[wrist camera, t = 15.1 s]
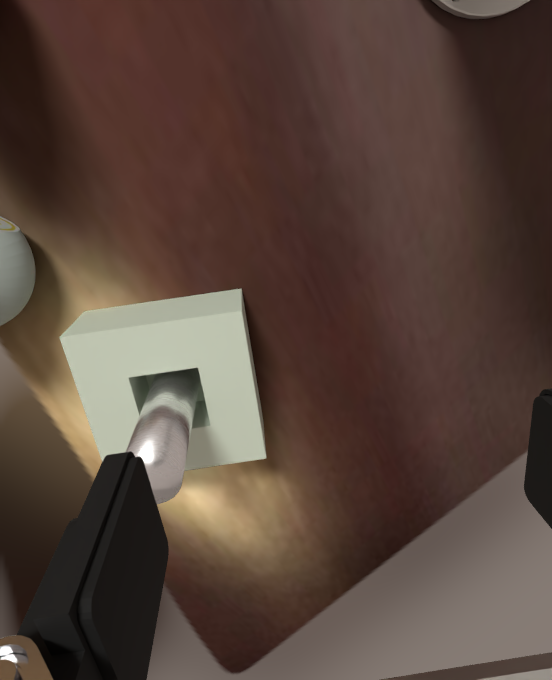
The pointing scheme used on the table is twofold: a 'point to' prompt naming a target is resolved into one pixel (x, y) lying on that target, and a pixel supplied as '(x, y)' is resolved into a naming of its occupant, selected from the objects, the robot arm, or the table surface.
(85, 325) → the socket block
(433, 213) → the table surface
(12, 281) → the air freshener
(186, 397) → the steel peg
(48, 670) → the robot arm
